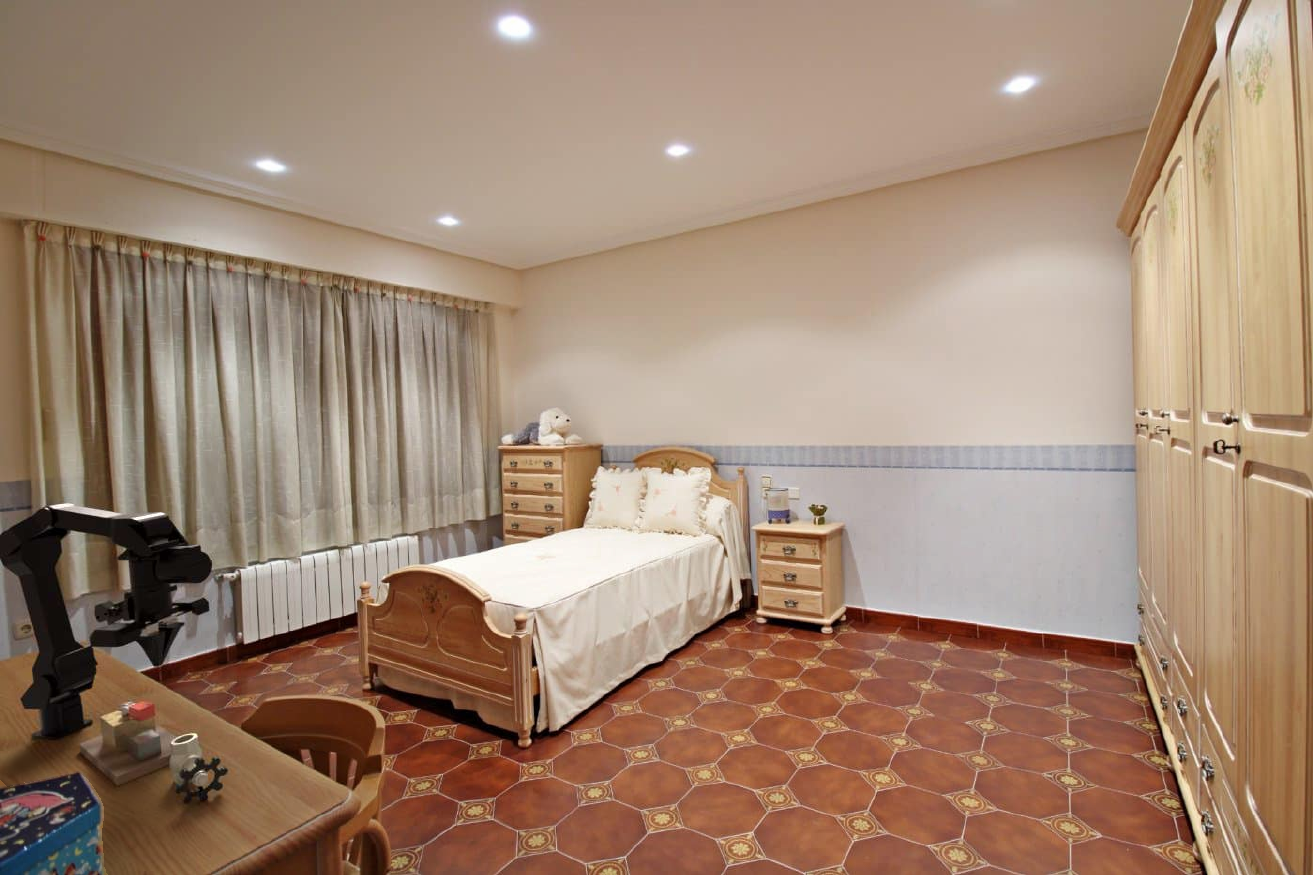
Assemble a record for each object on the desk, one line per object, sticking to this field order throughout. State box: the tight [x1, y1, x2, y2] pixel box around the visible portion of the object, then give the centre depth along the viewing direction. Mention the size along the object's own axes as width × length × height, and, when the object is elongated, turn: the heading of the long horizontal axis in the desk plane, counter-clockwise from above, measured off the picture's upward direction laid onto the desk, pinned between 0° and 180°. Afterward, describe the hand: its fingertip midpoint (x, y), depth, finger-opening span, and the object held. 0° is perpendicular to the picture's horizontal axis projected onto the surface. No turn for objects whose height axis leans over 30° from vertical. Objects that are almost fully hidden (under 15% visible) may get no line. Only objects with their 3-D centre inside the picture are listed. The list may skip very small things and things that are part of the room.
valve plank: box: [78, 722, 177, 787], centre depth 109 cm, size 20×10×2 cm, turn 56°
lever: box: [118, 700, 156, 722], centre depth 108 cm, size 8×2×2 cm, turn 64°
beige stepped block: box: [99, 709, 162, 761], centre depth 109 cm, size 16×6×6 cm, turn 56°
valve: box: [169, 733, 229, 805], centre depth 98 cm, size 7×7×12 cm
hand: (157, 665), depth 115 cm, fingers closed
